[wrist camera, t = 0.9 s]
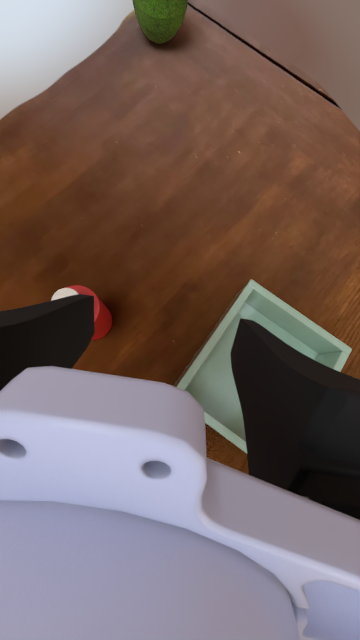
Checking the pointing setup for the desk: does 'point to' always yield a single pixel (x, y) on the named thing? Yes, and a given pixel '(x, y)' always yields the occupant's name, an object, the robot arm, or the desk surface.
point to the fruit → (160, 18)
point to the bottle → (100, 310)
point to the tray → (215, 359)
